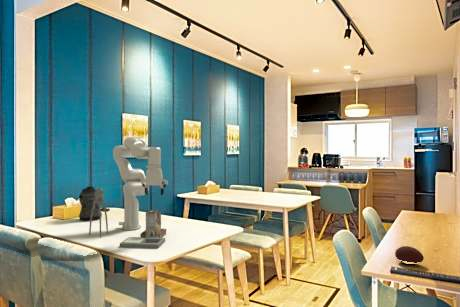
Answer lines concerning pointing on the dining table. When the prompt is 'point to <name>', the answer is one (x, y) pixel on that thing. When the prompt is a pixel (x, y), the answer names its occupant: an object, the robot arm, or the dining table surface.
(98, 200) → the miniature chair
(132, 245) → the board
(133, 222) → the robot arm
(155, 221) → the coffee box
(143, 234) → the stall
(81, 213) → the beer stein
